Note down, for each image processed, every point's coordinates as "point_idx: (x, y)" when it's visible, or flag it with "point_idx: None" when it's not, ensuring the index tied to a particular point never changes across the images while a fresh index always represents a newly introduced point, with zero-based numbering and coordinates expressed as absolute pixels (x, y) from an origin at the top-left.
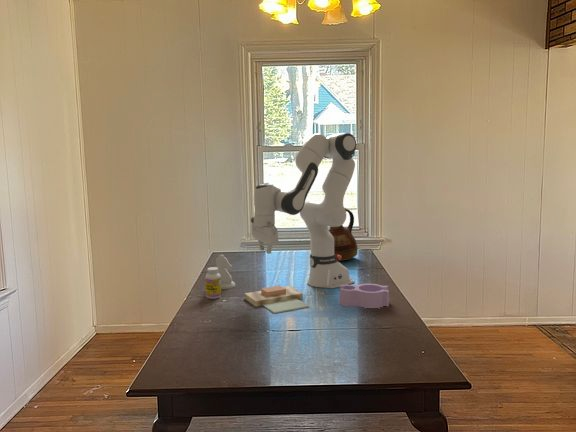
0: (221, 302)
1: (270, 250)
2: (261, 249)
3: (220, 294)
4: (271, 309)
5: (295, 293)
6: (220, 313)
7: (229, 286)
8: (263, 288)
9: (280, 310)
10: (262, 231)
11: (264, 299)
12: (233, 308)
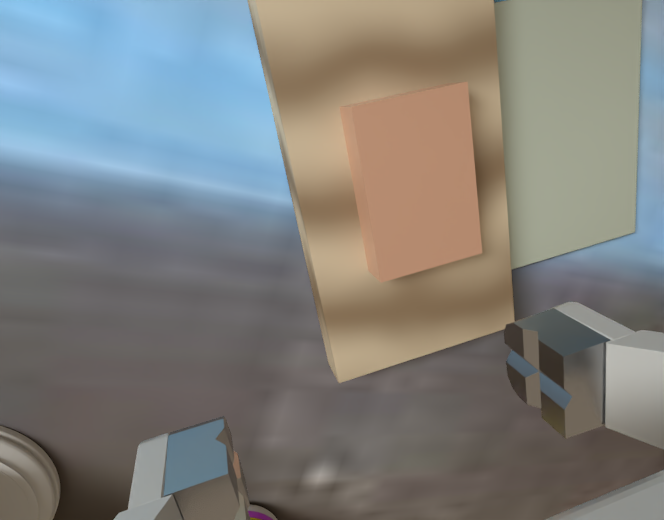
0: (353, 488)
1: (614, 338)
2: (245, 483)
3: (259, 515)
4: (593, 238)
5: (475, 2)
6: (510, 480)
7: (44, 470)
8: (387, 265)
9: (628, 190)
10: None
11: (507, 269)
12: (469, 426)
